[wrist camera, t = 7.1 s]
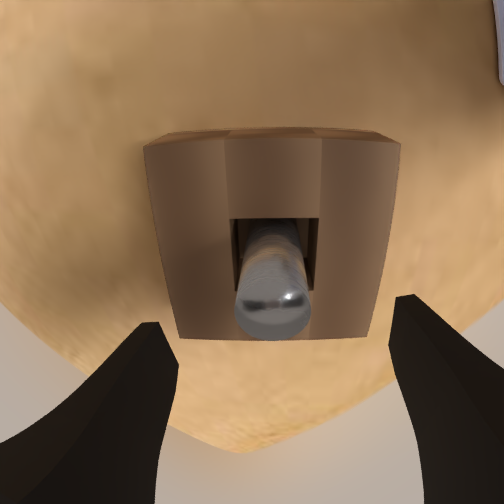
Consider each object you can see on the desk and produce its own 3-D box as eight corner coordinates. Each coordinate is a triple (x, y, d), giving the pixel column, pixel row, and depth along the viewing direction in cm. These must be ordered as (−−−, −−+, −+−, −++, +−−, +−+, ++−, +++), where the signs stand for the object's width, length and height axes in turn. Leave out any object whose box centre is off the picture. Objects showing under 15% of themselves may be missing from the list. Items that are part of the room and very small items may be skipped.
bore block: (373, 131, 14) (400, 143, 11) (353, 297, 19) (366, 336, 15) (168, 133, 14) (143, 146, 11) (192, 298, 19) (179, 338, 16)
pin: (295, 200, 15) (310, 277, 9) (298, 244, 16) (311, 338, 10) (246, 205, 15) (228, 284, 9) (252, 248, 17) (240, 342, 10)
